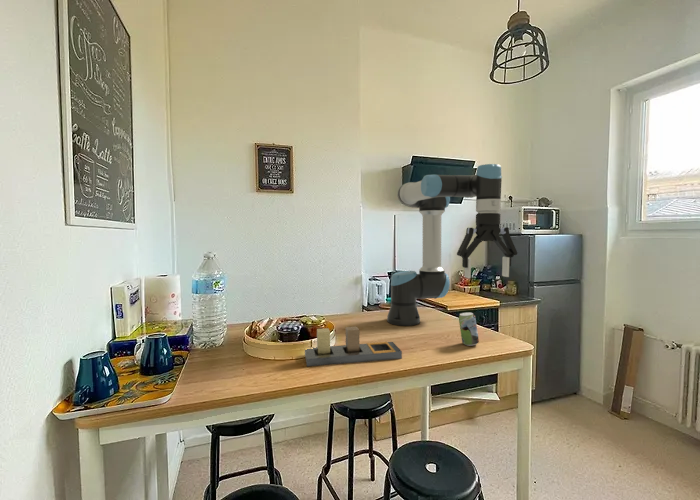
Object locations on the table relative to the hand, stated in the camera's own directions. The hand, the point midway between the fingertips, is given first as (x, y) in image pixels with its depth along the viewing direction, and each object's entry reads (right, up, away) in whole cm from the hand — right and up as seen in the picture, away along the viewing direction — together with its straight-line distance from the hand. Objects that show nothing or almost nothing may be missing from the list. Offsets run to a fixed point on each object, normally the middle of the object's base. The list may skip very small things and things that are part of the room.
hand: (486, 277), depth 115 cm
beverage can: (-1, -27, +16) cm, 31 cm away
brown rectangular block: (-45, -28, +4) cm, 53 cm away
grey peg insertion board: (-45, -28, +4) cm, 53 cm away
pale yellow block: (-54, -28, +2) cm, 61 cm away
